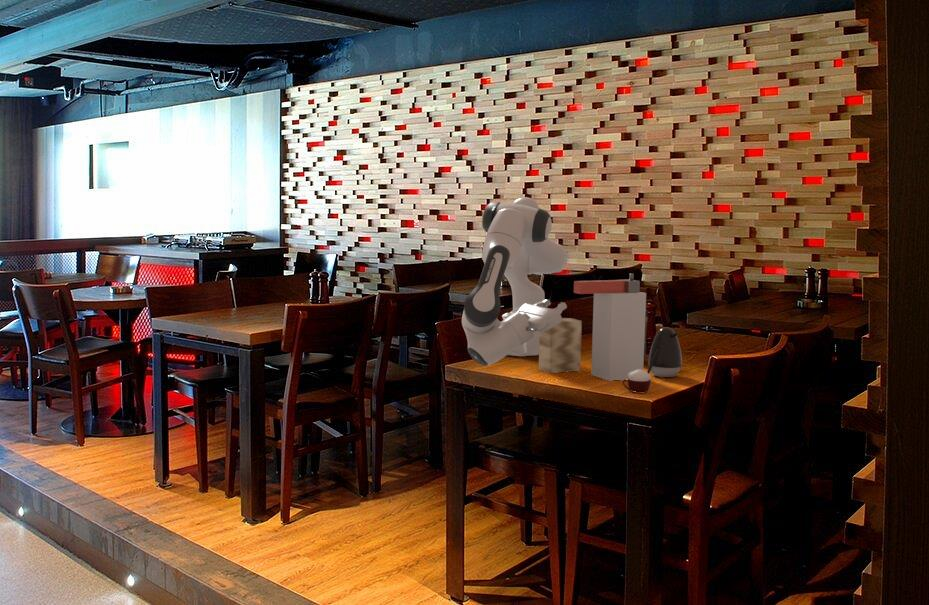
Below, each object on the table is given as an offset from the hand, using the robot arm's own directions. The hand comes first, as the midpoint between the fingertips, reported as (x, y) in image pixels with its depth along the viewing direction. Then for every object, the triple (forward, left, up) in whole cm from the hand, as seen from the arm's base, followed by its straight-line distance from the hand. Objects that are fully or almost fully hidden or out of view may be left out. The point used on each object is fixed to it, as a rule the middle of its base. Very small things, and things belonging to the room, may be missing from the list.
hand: (556, 302), depth 251 cm
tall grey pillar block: (+15, +15, -23) cm, 32 cm away
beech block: (-3, +18, -23) cm, 30 cm away
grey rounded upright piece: (+29, +23, -24) cm, 44 cm away
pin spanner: (+12, +12, +3) cm, 17 cm away
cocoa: (+26, -3, -24) cm, 35 cm away
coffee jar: (+15, +45, -24) cm, 53 cm away
